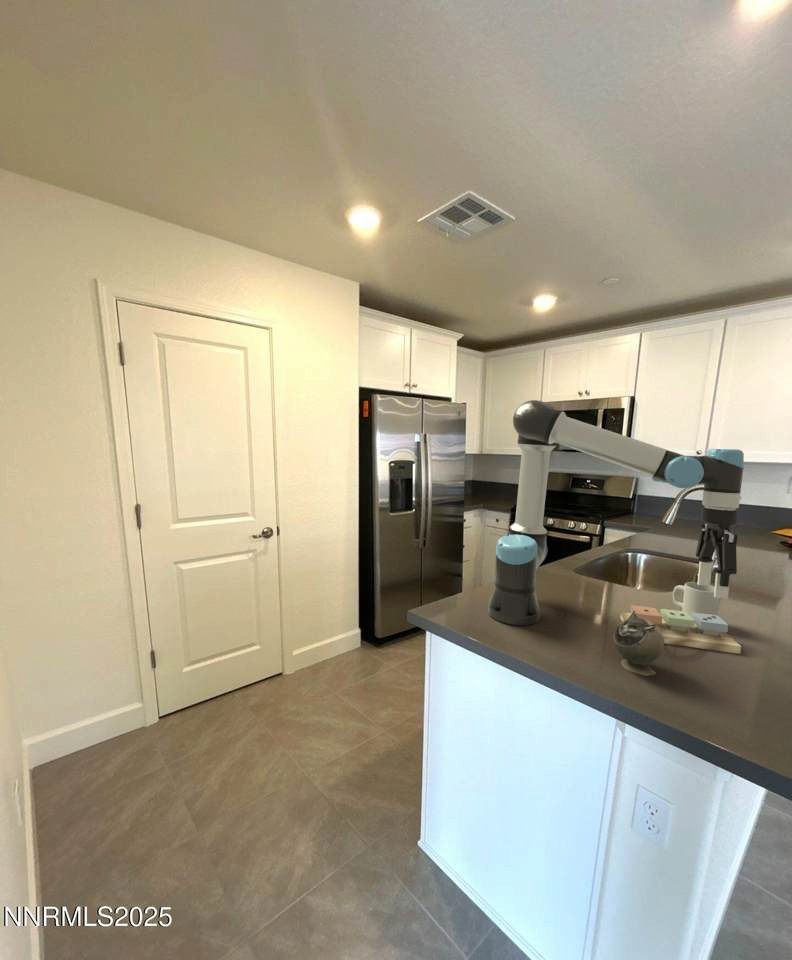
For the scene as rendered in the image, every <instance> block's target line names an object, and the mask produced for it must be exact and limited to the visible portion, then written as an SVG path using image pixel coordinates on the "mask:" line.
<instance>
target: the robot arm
mask: <svg viewBox="0 0 792 960" xmlns="http://www.w3.org/2000/svg"><path fill="white" fill-rule="evenodd" d="M512 423H513V428H514V430H515V431H516V433H517V435H518V436H517V446H518V447H519V448H520V449H521V456H520V468H519V478H518V488H517V497H516V510H515V520H514V523H512V524H511V525H510V526H509V532H508V535H503V536H502V537H500V538H499V539H497V542H496V547H495V570H494V571H495V576H494V578H495V579H494V588H493V590H492V594H491V595H490V598H489V600H488V604H487V613H488V615H489V616H490V617H491V618H492V619H494V620H495V621H498V622H501V623H503V624H509V625H513V626H530V625H534V624H536V623H538V622H539V621H540V618H541V616H540V615H541V610H540V607H539V602H538V599H537V595H536V580H537V578H536V576H537V575H536V574H537V569H538V568H539V567H540V565H541V564H543V562H544V561H545V560H546V557H547V555H548V545H547V534H548V530H547V528H545V527H544V516H545V504H546V503H545V502H546V496H547V485H548V476H549V465H550V455H551V452H552V451H553V450H554V449H555V448H556V447H557V444H559V445H562V446H563V447H567V448H570V449H573V450H575V451H579V452H581V453H585V454H587V455H590V456H593V457H595V458H598V459H601V460H603V461H606V462H609V463H612V464H615V465H618V466H620V467H623V468H626V469H628V470H632V471H633V472H637V473H640V474H643V475H644V476H648V477H651V480H653V481H652V482H658V483H659V482H660V483H667V484H669V485H671V486H673V487H676V488H679V489H687V488H692V487H694V486H697V485H703V490H702V501H701V504H702V507H701V512H700V514H701V515H700V520H701V521H702V522H704V523H700V531H699V537H698V542H697V547H696V552H695V557H696V558H698V562H699V563H698V575H697V584H698V585H704V586H710V585H711V579H712V570H713V563H714V560H713V556H714V552H715V554H716V561H717V562H716V563H717V570H714V572H715V580H714V587H715V590H714V597H716V598H720V599H724V600H725V599H726V600H727V599H729V590H730V581H731V575H736V574H737V573H738V572H737V571H738V568H737V565H738V564H737V561H738V560H737V542H738V537H739V536H738V534H736V533H731V526H735V525H738V522H739V514H740V513H739V511H738V508H739V507H740V501H741V500H742V496H741V489H742V481H743V474H744V468H745V466H744V463H745V462H744V461H745V460H744V456H745V453H744V452H743V451H742V450H741V449H738V448H735V449H733V448H730V449H729V448H728V449H727V448H709V449H708V450H707V451H706V453H705V455H684V454H681V453H678V452H675V451H672V450H668V449H665V448H663V447H659V446H657V445H654V444H650V443H647V442H645V441H642V440H638V439H635V438H632V437H629V436H626V435H623V434H620V433H616V432H614V431H611V430H608V429H604V428H603V427H599V426H596V425H593V424H590V423H587V422H583V421H581V420H578V419H575V418H571V417H569V416H567V415H566V412H564V411H562V410H559V409H557V408H555V407H554V406H553V405H550V404H549V403H546V402H545V401H542V400H537V399H532V400H527V401H525V402H523V403H521V404H520V405H519V406H518V407H517V408H516V409H515V411H514V414H513V417H512Z"/></svg>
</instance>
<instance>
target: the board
mask: <svg viewBox="0 0 792 960" xmlns="http://www.w3.org/2000/svg"><path fill="white" fill-rule="evenodd" d="M631 614H632V613H631V612H622V611H621V612H620V620H621V622H622V621H624V620H626V619H628V618H629V617H630V615H631ZM666 624H667V623H666V622H665V621H664V619H663V618H662V624H659V623H654V625H656V626H657V627H658V629H659V630H660V631H661V633H662V635H663V638H664V644H667V645H674V646H681V647H689V648H694V649H696V648H697V649H702V650H709V651H717V652H723V653H733V654H739V655H741V654H742V653H741V652H742V645H741V644H739V643H738V642H737V641H736V640H735V639H734V638H732V636H731V635H729V634H728V632H722V631H719V636H711V635H703V634H702V633H701V632H700V631H699V630H698V626H697V625H696V624H695V623H694V628H691V627H686V632H680V631H673V630H670V629H669V628H668V626H667V625H666Z"/></svg>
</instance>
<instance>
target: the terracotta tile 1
mask: <svg viewBox="0 0 792 960" xmlns="http://www.w3.org/2000/svg"><path fill="white" fill-rule="evenodd" d="M633 611H635V614H637V615H636V616H637V617H639V618H642V619H645V620H647V621H649V622H651V623H653V624H654V623H659V624H662V616H661V615H660V612H659V611H658V610H657V608H656V607H649V606H640V605H632V604H631V605H630V613H633Z"/></svg>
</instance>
